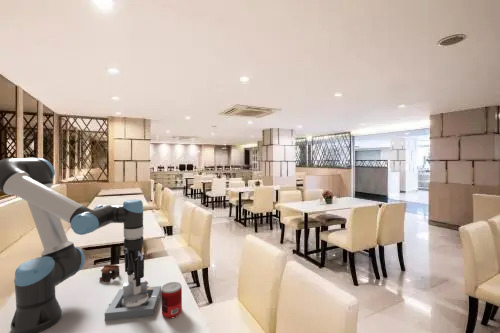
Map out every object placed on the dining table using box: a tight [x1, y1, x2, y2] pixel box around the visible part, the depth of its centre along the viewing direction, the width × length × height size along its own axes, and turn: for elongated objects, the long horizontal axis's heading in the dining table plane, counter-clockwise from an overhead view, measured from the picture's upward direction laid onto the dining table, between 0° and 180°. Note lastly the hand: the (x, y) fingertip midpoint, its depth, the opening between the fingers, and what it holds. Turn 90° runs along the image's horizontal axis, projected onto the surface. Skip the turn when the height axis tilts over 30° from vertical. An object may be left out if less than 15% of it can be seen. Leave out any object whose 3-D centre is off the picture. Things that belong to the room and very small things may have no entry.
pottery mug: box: [99, 264, 121, 283], centre depth 136 cm, size 12×10×8 cm
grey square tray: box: [104, 285, 162, 322], centre depth 112 cm, size 18×18×3 cm
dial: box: [122, 278, 149, 308], centre depth 112 cm, size 10×10×9 cm
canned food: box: [160, 281, 183, 319], centre depth 107 cm, size 8×8×11 cm
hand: (134, 291), depth 112 cm, fingers closed on dial, 4 cm apart
